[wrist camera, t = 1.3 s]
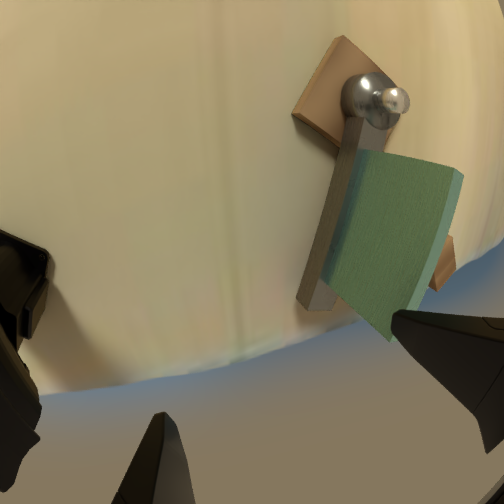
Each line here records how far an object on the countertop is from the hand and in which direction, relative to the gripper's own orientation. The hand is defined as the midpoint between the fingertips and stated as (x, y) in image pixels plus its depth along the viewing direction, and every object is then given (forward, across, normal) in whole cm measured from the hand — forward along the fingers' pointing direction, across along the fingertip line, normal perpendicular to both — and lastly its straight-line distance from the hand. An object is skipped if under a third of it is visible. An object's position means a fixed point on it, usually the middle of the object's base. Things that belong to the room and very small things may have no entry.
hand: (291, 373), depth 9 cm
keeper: (+13, +20, -8) cm, 25 cm away
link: (+11, +10, +1) cm, 15 cm away
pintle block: (+13, +13, +8) cm, 20 cm away
